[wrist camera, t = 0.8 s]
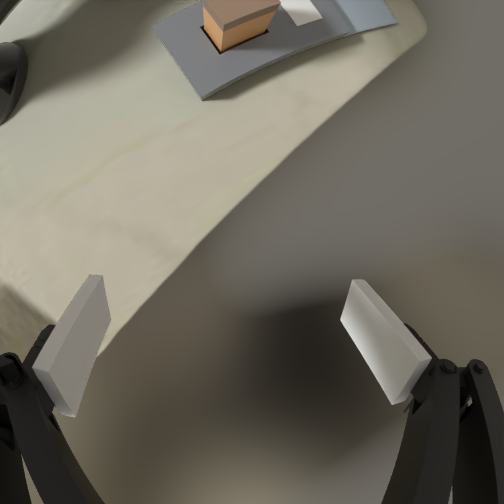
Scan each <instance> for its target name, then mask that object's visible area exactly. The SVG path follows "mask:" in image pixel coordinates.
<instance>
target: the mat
mask: <svg viewBox="0 0 504 504" xmlns="http://www.w3.org/2000/svg"><path fill="white" fill-rule="evenodd" d="M330 1H331V2H332V3H333V5H334V6H335V8H336V9H337V10H338V12H339V13H340V15H341V16H342V18H343V19H344V21H345V22H346V24H347V25H348V27H349V28H350V30H351V32H349V33H348V34H346V35H345V36H349V35H352V34H356V33H359V32H363V31H366V30H370V29H374V28H378V27H382V26H387V25H391V24H396V23H398V22H397V20H396V19H395V17H394V15H393V14H392V12H391V11H390V9H389V8H388V6H387V5H386V3H385V2H384V0H330ZM345 36H343V37H345ZM341 38H342V37H341Z"/></svg>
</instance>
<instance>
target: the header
mask: <svg viewBox="0 0 504 504" xmlns="http://www.w3.org/2000/svg"><path fill="white" fill-rule="evenodd" d="M279 1H280V2H281V4H280V6H279V7H278V9H277V11H276V13H275V14H274V16H273V18H272V20H271V21H270V23H269V25H268V27H267V28H266V30H265V32H264V34H263V35H261V36H259V37H257V38H254V39H252V40H250V41H247V42H245V43H243V44H241V45H239V46H237V47H234V48H232V49H230V50H228V51H226V52H224V53H222V54H219V53H218V52H217V50H216V49H215V47H214V46H213V45H212V43H211V42H210V40H209V39H208V38H207V36H206V35H205V31H204V17H203V1H200V2H198V3H196V4H194V5H192V6H189V7H187V8H185V9H183V10H181V11H179V12H178V13H176V14H174V15H172V16H170V17H168V18H166V19H165V20H163V21H161V22H159V23H158V24H156V25H154V26H153V27H152V28H153V29H154V31H155V33H156V35H157V36H158V38H159V39H160V40H161V42H162V43H163V45H164V46H165V47H166V49H167V50H168V52H169V53H170V55H171V56H172V57H173V59H174V60H175V62H176V63H177V65H178V66H179V68H180V69H181V71H182V72H183V74H184V75H185V76H186V78H187V79H188V81H189V82H190V84H191V85H192V87H193V88H194V90H195V91H196V93H197V94H198V96H199V97H200V99H201V100H202V101H203V100H205V99H206V98H208V97H210V96H211V95H213V94H215V93H217V92H218V91H220V90H222V89H224V88H226V87H227V86H229V85H231V84H233V83H235V82H237V81H239V80H241V79H243V78H245V77H247V76H249V75H251V74H253V73H255V72H257V71H259V70H261V69H263V68H265V67H267V66H270V65H272V64H274V63H276V62H278V61H281V60H283V59H285V58H288V57H290V56H293V55H295V54H297V53H300V52H303V51H305V50H308V49H310V48H313V47H316V46H318V45H321V44H324V43H327V42H330V41H333V40H336V39H339V38H341V37H343V36H345V35H346V34H348V33H349V32H351V30H350V28H349V27H348V25H347V24H346V22H345V21H344V19H343V18H342V16H341V15H340V13H339V12H338V10H337V9H336V8H335V6H334V5H333V3H332V2H331V1H330V0H279Z"/></svg>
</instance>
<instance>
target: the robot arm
mask: <svg viewBox="0 0 504 504" xmlns="http://www.w3.org/2000/svg"><path fill="white" fill-rule="evenodd" d="M20 2H21V0H0V25H1V24H2V23H3V22H4V20H5V19H6V18H7V17H8V15H9V14H10V13H11V12H12V11H13V9H14V8H15V7H16V6H17V5H18V4H19V3H20ZM26 74H27V57H26V54H25V51H24V50H23V48H22V47H21V46H19V45H17V44H13V43H10V42H4V43H0V124H2V123H3V122H4V121H5V120H6V119H7V117H8V116H9V115H10V113H11V112H12V110H13V109H14V107H15V105H16V104H17V102H18V100H19V97H20V95H21V92H22V90H23V87H24V83H25V79H26ZM110 321H111V316H110V311H109V307H108V302H107V297H106V292H105V286H104V280H103V275H89V276H88V278H87V279H86V280H85V282H84V283H83V285H82V286H81V288H80V289H79V291H78V292H77V293H76V295H75V296H74V298H73V299H72V301H71V302H70V304H69V305H68V307H67V309H66V310H65V312H64V313H63V315H62V316H61V318H60V320H59V321H58V323H57V324H56V325H51V324H50V325H48V326H47V327H46V328H45V329H44V330H42V331H41V333H40V335H39V336H38V338H37V340H36V341H35V343H34V344H33V347H32V348H31V349H30V351H29V353H28V355H27V356H26V358H25V360H24V362H23V363H21V361H20V359H19V357H18V355H16V354H15V353H10V352H8V353H4V354H2V355H0V504H32V503H31V499H30V495H29V491H28V487H27V483H26V478H25V473H24V468H23V462H22V457H21V454H22V456H23V459H24V462H25V464H26V467H27V469H28V471H29V474H30V476H31V478H32V480H33V482H34V484H35V486H36V489H37V491H38V493H39V495H40V497H41V499H42V500H43V503H44V504H105V503H104V502H103V500H102V499H101V497H100V496H99V495H98V493H97V492H96V490H95V489H94V487H93V486H92V484H91V483H90V481H89V480H88V478H87V476H86V475H85V473H84V472H83V470H82V469H81V467H80V465H79V463H78V461H77V460H76V458H75V456H74V454H73V453H72V451H71V449H70V447H69V445H68V443H67V441H66V439H65V437H64V435H63V433H62V431H61V429H60V427H59V425H58V423H57V421H56V418H55V416H54V415H53V413H52V411H53V408H54V405H55V407H56V408H57V410H58V411H59V413H60V414H64V415H68V416H72V417H76V414H77V411H78V408H79V405H80V401H81V398H82V395H83V392H84V389H85V386H86V383H87V380H88V378H89V375H90V372H91V369H92V366H93V364H94V361H95V358H96V356H97V353H98V351H99V348H100V346H101V343H102V340H103V338H104V336H105V333H106V331H107V328H108V326H109V324H110ZM341 322H342V323H343V325H344V327H345V328H346V330H347V331H348V333H349V334H350V336H351V338H352V339H353V341H354V343H355V344H356V346H357V347H358V349H359V351H360V352H361V354H362V355H363V357H364V359H365V360H366V362H367V364H368V365H369V367H370V369H371V370H372V372H373V373H374V375H375V377H376V379H377V380H378V382H379V383H380V385H381V387H382V389H383V390H384V392H385V393H386V395H387V397H388V399H389V400H390V402H391V404H392V405H393V404H396V403H400V402H403V401H405V400H406V398H407V397H408V395H409V394H410V392H411V393H412V395H413V399H412V400H411V402H410V403H409V404H408V406H407V407H406V408H405V410H404V413H405V412H406V411H407V410H408V409H409V413H408V417H407V422H406V426H405V430H404V435H403V439H402V442H401V446H400V450H399V453H398V457H397V460H396V463H395V467H394V470H393V473H392V476H391V479H390V482H389V484H388V487H387V490H386V493H385V495H384V498H383V501H382V503H381V504H448V501H449V496H450V491H451V487H452V491H453V504H504V412H503V409H502V405H501V402H500V400H499V397H498V394H497V391H496V388H495V385H494V383H493V380H492V377H491V375H490V372H489V370H488V368H487V366H486V365H485V364H484V363H483V362H482V361H480V360H477V359H473V360H471V361H470V362H469V363H468V365H467V366H466V367H457V366H456V365H455V364H454V363H453V362H452V361H450V360H447V359H438V357H437V356H436V355H435V354H434V352H433V351H432V350H431V349H430V348H429V346H428V345H427V344H426V343H425V342H423V339H422V338H421V337H419V335H418V334H417V332H416V331H415V330H414V329H413V328H411V327H410V326H409V325H407V324H406V323H404V324H403V323H402V322H401V320H400V319H399V318H398V317H397V316H396V315H395V314H394V313H393V312H392V310H391V309H390V308H389V307H388V306H387V305H386V303H385V302H384V301H383V300H382V299H381V298H380V297H379V296H378V295H377V293H376V292H375V291H374V290H373V289H372V288H371V287H370V286H369V285H368V284H367V283H366V282H365V280H352V282H351V286H350V290H349V293H348V297H347V300H346V303H345V307H344V310H343V313H342V316H341ZM470 398H472V404H471V405H470V406H468V403H467V402H468V401H469V400H470Z"/></svg>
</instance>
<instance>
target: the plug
mask: <svg viewBox="0 0 504 504" xmlns="http://www.w3.org/2000/svg"><path fill="white" fill-rule="evenodd" d="M202 1H203V17H204V31H205V35H206V36H207V38H208V39H209V40H210V42H211V43H212V45H213V46H214V47H215V49H216V50H217V52H218V53H219V54H222V53H224V52H226V51H228V50H230V49H232V48H234V47H237V46H239V45H241V44H243V43H245V42H247V41H250V40H252V39H254V38H257V37H259V36H261V35H263V34H264V32H265V30H266V28H267V27H268V25H269V23H270V21H271V20H272V18H273V16H274V14H275V13H276V11H277V9H278V7H279V6H280V4H281V2H280V1H279V0H202Z"/></svg>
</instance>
